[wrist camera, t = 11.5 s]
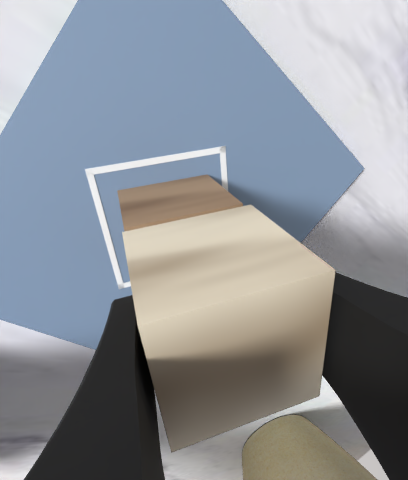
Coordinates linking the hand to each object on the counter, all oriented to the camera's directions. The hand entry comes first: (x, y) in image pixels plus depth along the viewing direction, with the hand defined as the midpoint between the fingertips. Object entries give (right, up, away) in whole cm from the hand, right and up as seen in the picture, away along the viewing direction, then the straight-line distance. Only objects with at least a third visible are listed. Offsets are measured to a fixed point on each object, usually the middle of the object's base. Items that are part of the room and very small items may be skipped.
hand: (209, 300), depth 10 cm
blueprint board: (-2, +3, +6) cm, 8 cm away
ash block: (0, +1, +1) cm, 2 cm away
